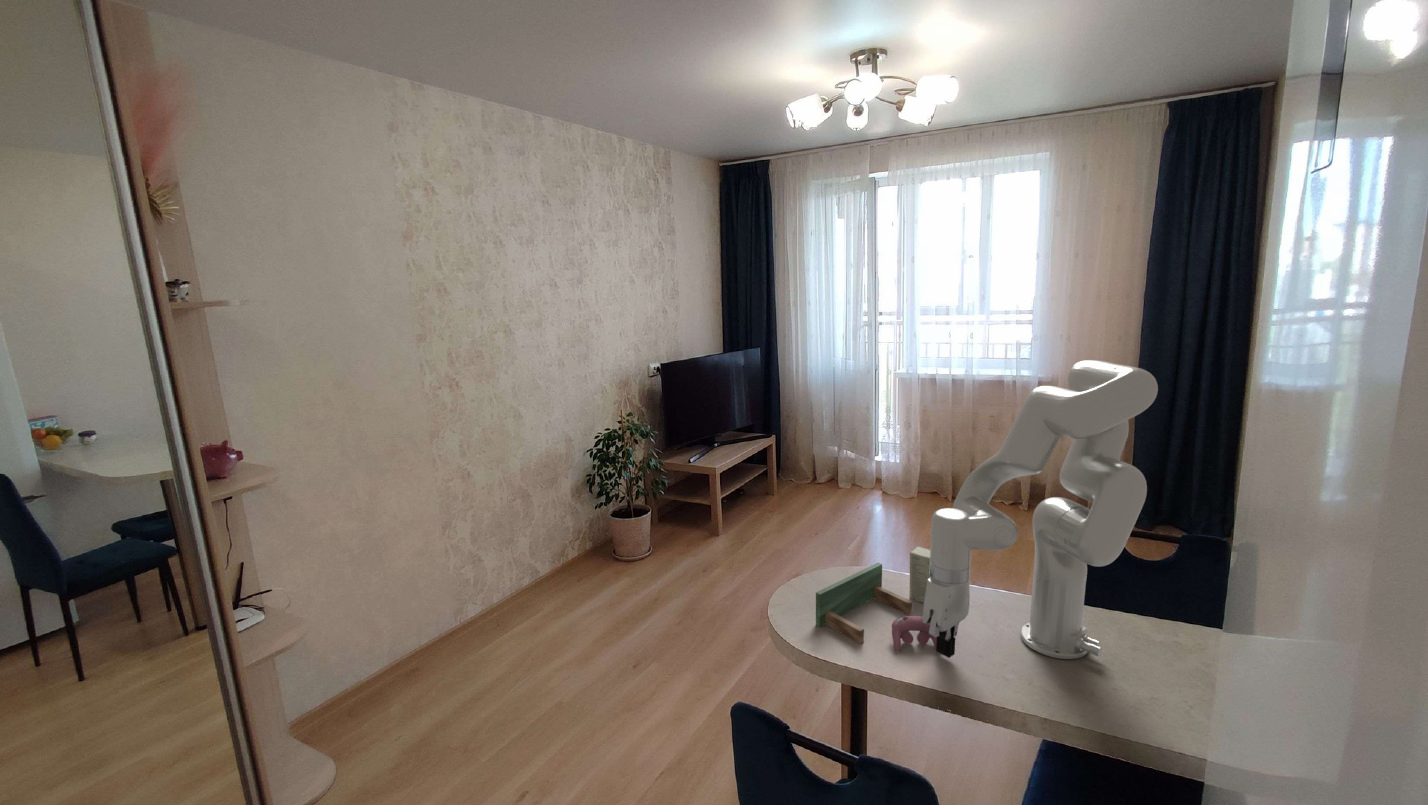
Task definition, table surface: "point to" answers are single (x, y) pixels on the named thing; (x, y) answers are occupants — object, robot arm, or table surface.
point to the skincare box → (919, 572)
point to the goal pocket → (855, 600)
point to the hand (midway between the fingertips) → (945, 653)
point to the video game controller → (910, 624)
